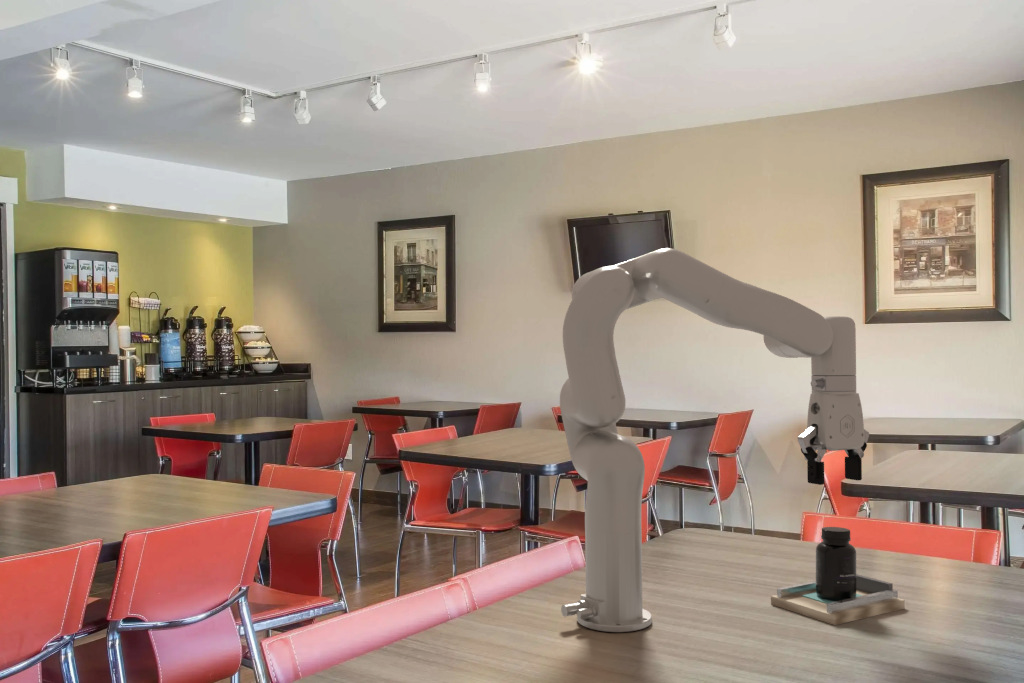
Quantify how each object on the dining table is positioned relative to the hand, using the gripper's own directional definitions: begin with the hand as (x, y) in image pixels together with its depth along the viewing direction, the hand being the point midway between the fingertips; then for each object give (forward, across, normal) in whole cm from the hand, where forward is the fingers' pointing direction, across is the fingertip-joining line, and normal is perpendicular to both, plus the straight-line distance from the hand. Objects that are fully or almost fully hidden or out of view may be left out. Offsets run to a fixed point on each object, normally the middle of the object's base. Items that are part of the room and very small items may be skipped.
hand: (834, 481), depth 154 cm
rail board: (+22, 0, 0) cm, 22 cm away
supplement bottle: (+21, 0, 0) cm, 21 cm away
